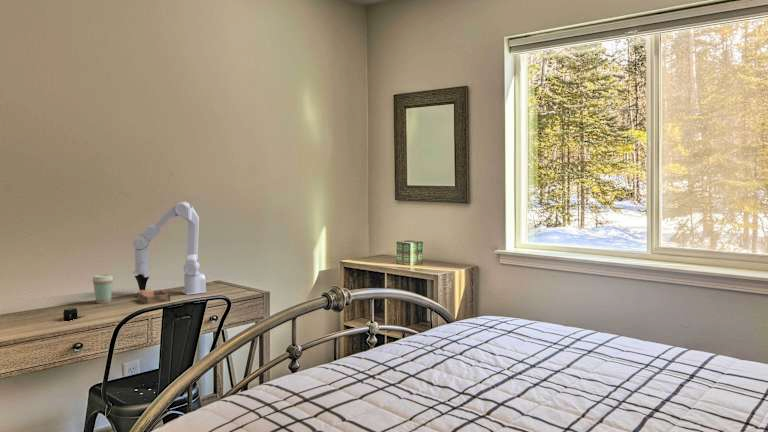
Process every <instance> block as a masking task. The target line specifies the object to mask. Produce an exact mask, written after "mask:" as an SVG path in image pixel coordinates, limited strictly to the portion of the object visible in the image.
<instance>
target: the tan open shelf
mask: <svg viewBox="0 0 768 432" xmlns="http://www.w3.org/2000/svg"><path fill="white" fill-rule="evenodd" d="M137 301H139V302H140V303H142V304H144V305H149V304H151V305H152V304H156V303H157V304H159V303H164V302H165V303H166V302H171V294H170V293H169V292H166V291H164V290H159V294H157V295H154V296H150V297H146V296H144V295H142V294H141V293H139V292H138V293H137Z"/></svg>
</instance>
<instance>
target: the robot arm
mask: <svg viewBox="0 0 768 432" xmlns="http://www.w3.org/2000/svg"><path fill="white" fill-rule="evenodd" d="M178 216H179V217H181V218H183V219H184V220H185V221H186V222H187V223H188V225H187V226H188V229H187V249H186V250H187V251H186V252H187V253H186V254H187V255H186V258H185V264H184V266H183V271H184V273H183V274H184V284H183V285H184V290H182V291H181V293H183V294H184V295H187V296H188V295H195V294H196V295H197V294H205V293H206V294H207V285H206V284H207V281H206V279H207V278H206V276H205V274H204V273H201V272H200V271H199V270H200V267H201V264H200V262H199V254H198V253H199V251H198V250H199V229H200V217H199V215H198V214H197V212H196V211H195V208H194V206H193V205H192V204H190V203H189V202H188V201H181V202H177V204H175V205H174V206H172V207H171V208H170V209H169V210H167V211H166V213H164V215H163V216H161V217H160V218H159V220H158V221H157V222H156V223H155V224H150V225H147V226H146V228H145V229H144V231H143V232H142V233H141V232H140V233H139V234H138V235H139V237H138V236H137V237H135V239H134V240H133V247H134V266H135V267H134V268H135V269H134V271H132V274H136V275H134V279H136V283H137V285H138V291H139V290H146V289H147V288H146V287H147V283H148V280H149V279H150V273H149V272H150V271H149V252H148V246H149V245H150V243H152V241H153V240H154V239H155V238H156V237H157V236H159V235H160V234H161V229H162V228H163V227H164V226H165V225H166V224H167V223H168V222H169V221H170V220H171V219H172V218H175V217H178Z"/></svg>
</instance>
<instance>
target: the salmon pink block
mask: <svg viewBox="0 0 768 432" xmlns="http://www.w3.org/2000/svg"><path fill="white" fill-rule="evenodd" d="M138 293H141V294H142V295H144V296H146V297H150V296H155V291H154V290H153V289H150V288H148V289H147V288H145V290H139V289H138Z"/></svg>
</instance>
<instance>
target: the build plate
mask: <svg viewBox="0 0 768 432" xmlns="http://www.w3.org/2000/svg"><path fill="white" fill-rule="evenodd" d="M62 314H63V315H62V316H63V318H62V319H58V320H57V322H61V321H69V322H71V321H70V320H72V321H74V320H73V319H76V320H78V318H79V319H81V317H82V318H85V317H86V316H85V315H78V310H77V307H68V308H65V309H63V313H62Z"/></svg>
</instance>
